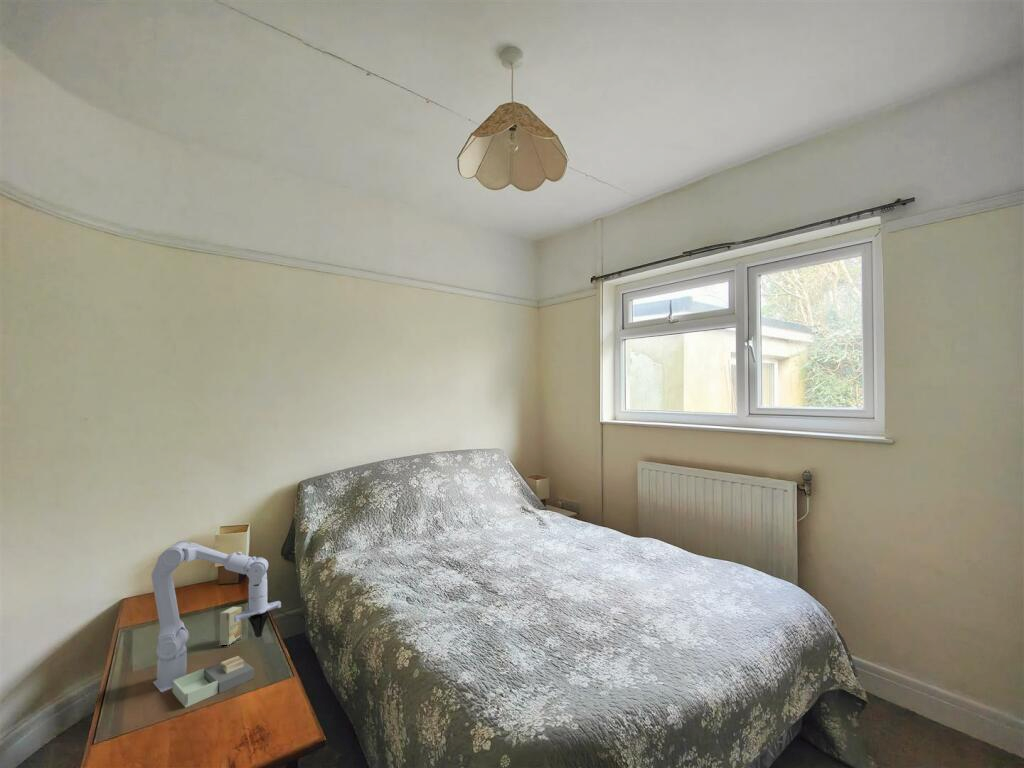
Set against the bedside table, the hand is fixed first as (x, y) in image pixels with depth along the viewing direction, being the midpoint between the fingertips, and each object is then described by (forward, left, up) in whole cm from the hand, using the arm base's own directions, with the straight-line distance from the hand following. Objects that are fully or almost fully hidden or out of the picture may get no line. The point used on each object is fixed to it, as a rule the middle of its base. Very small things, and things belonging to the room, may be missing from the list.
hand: (258, 635), depth 155 cm
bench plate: (0, -9, -10) cm, 13 cm away
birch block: (0, -8, -6) cm, 10 cm away
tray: (0, -19, -10) cm, 21 cm away
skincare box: (-28, +1, -10) cm, 30 cm away
